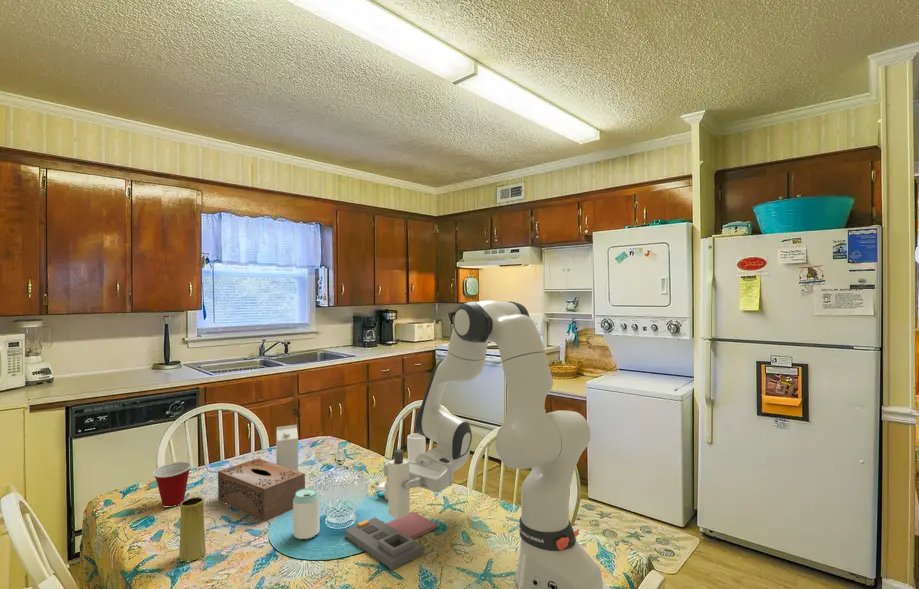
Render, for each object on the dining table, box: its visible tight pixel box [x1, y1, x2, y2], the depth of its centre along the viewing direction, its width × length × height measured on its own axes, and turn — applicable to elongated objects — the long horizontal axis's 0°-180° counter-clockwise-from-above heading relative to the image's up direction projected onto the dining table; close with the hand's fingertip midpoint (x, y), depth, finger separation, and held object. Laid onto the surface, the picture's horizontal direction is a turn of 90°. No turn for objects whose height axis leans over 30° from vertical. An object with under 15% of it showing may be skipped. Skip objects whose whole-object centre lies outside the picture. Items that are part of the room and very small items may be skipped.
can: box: [292, 487, 321, 540], centre depth 131 cm, size 7×7×12 cm
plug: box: [387, 449, 411, 519], centre depth 124 cm, size 4×4×17 cm
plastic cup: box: [152, 461, 192, 506], centre depth 151 cm, size 11×11×12 cm
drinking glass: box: [406, 432, 427, 461], centre depth 172 cm, size 7×7×15 cm
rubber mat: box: [386, 511, 438, 540], centre depth 134 cm, size 11×11×1 cm
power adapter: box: [370, 480, 388, 501], centre depth 154 cm, size 11×5×6 cm, turn 67°
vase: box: [178, 496, 207, 562], centre depth 121 cm, size 6×6×14 cm
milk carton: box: [275, 424, 299, 471], centre depth 172 cm, size 7×7×19 cm
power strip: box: [344, 517, 425, 571], centre depth 125 cm, size 22×10×4 cm, turn 44°
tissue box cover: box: [217, 457, 306, 523], centre depth 152 cm, size 26×14×10 cm, turn 56°
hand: (396, 483), depth 123 cm, fingers closed on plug, 4 cm apart
